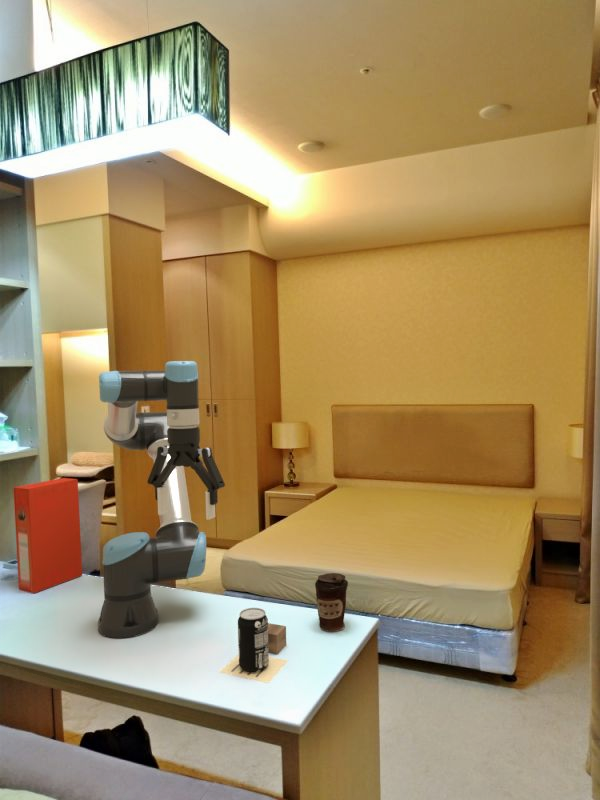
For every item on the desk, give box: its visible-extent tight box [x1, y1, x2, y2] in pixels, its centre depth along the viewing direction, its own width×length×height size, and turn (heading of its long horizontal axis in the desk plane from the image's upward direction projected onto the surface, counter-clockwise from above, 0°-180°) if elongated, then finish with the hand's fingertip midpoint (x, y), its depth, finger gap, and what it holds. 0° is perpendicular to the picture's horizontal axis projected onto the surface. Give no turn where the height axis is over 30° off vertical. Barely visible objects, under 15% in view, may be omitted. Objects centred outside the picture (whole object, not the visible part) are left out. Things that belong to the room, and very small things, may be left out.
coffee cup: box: [314, 572, 349, 632], centre depth 145 cm, size 9×8×13 cm
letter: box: [219, 653, 289, 684], centre depth 126 cm, size 12×10×1 cm
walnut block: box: [268, 622, 287, 655], centre depth 135 cm, size 5×5×5 cm
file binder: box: [12, 477, 83, 594], centre depth 182 cm, size 8×17×32 cm, turn 149°
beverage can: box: [237, 607, 270, 672], centre depth 126 cm, size 7×7×12 cm
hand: (186, 516), depth 135 cm, fingers open, 13 cm apart
